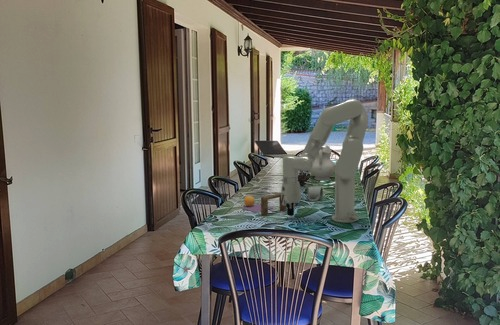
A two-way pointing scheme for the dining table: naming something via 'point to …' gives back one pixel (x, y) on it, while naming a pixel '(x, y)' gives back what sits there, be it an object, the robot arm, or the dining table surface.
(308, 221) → the dining table surface
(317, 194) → the ceramic mug
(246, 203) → the ball
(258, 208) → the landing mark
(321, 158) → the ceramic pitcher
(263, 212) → the bridge
